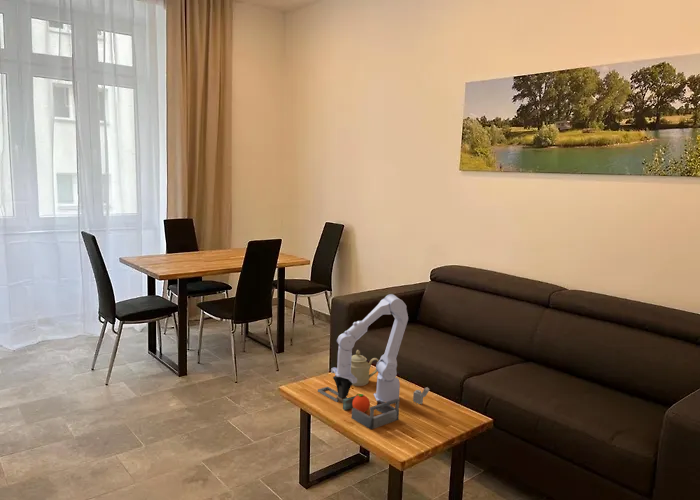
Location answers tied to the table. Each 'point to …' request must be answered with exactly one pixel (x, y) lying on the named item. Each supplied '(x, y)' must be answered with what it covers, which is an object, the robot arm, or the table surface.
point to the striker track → (328, 394)
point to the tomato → (361, 403)
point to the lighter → (420, 395)
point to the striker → (345, 399)
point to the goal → (379, 420)
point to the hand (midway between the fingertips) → (342, 394)
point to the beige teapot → (361, 369)
